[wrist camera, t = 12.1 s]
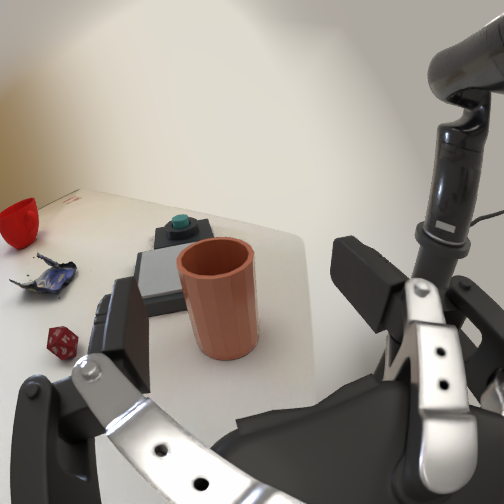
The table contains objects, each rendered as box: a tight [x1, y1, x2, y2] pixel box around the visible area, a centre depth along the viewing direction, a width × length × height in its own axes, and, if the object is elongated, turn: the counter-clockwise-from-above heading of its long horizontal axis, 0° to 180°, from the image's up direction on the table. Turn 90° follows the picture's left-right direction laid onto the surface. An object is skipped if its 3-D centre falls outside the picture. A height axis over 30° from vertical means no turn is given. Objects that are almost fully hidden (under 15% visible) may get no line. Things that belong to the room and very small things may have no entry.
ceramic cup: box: [0, 198, 39, 249], centre depth 50 cm, size 13×17×10 cm
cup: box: [176, 237, 259, 360], centre depth 25 cm, size 6×6×10 cm
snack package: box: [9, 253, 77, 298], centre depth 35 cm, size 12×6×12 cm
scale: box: [134, 241, 198, 317], centre depth 37 cm, size 13×13×2 cm
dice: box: [47, 326, 78, 360], centre depth 24 cm, size 4×4×4 cm
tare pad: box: [154, 217, 214, 250], centre depth 47 cm, size 10×8×3 cm
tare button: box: [172, 214, 189, 229], centre depth 46 cm, size 3×3×2 cm
